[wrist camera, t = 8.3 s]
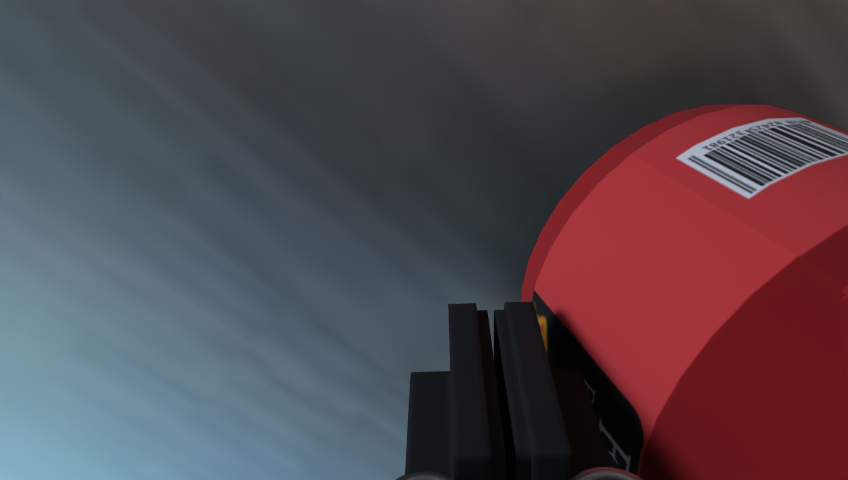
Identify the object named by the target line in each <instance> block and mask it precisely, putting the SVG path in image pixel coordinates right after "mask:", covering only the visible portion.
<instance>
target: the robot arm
mask: <svg viewBox="0 0 848 480" xmlns="http://www.w3.org/2000/svg"><path fill="white" fill-rule="evenodd" d="M448 309H449V340H450V371H439V372H411V377H410V394H409V413H408V431H407V449H406V467H405V475H403V476H401V477H399V478H398V479H396V480H643V479H642V478H640V477H639V476H637V475H635V474H632V473H630V472H628V471H626V470H621V469H617V468H612V466H611V463H610V459H609V456H608V453H607V450H606V447H605V444H604V441H603V438H602V434H601V431H600V428H599V425H598V422H597V419H596V416H595V412H594V409H593V406H592V403H591V400H590V397H589V394H588V391H587V387H586V384H585V381H584V378H583V375H582V372H581V370H580V369H579V368H578V367H572V368H550V365H549V361H548V357H547V353H546V349H545V345H544V341H543V337H542V333H541V329H540V325H539V321H538V317H537V313H536V310H535V306H534V302H533V301H530V302H505V304H504V310H494V358H493V350H492V343H491V335H490V327H489V319H488V312H487V310H480V311H477V308H476V303H469V304H448Z"/></svg>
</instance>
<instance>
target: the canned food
mask: <svg viewBox="0 0 848 480" xmlns="http://www.w3.org/2000/svg"><path fill="white" fill-rule="evenodd" d="M530 301H533V302H534V306H535V310H536V313H537V317H538V321H539V325H540V329H541V333H542V337H543V341H544V345H545V349H546V353H547V357H548V361H549V365H550V368H572V367H578V368H579V369H580V370H581V372H582V375H583V378H584V381H585V384H586V387H587V391H588V394H589V397H590V400H591V403H592V406H593V409H594V412H595V416H596V419H597V422H598V425H599V428H600V431H601V434H602V438H603V441H604V444H605V447H606V450H607V453H608V456H609V459H610V463H611V466H612V468H617V469H621V470H626V471H628V472H630V473H632V474H635V475H637V476H639V477H640V478H642V479H643V480H848V132H847V131H844V130H842V129H839V128H837V127H834V126H831V125H829V124H826V123H824V122H821V121H818V120H816V119H813V118H811V117H808V116H805V115H803V114H800V113H798V112H795V111H791V110H787V109H783V108H779V107H775V106H770V105H746V104H726V105H704V106H700V107H696V108H692V109H688V110H684V111H679V112H675V113H673V114H671V115H668V116H666V117H664V118H662V119H660V120H657V121H655V122H653V123H651V124H648V125H646V126H644V127H642V128H641V129H639V130H638V131H636V132H635V133H633V134H631V135H630V136H628V137H627V138H625V139H624V140H622V141H621V142H619V143H618V144H616V145H615V146H613V147H612V148H611V149H610V150H608V151H607V152H606V153H605V154H604V155H603V156H602V157H601V158H599V159H598V160H597V161H596V162H595V163H594V164H593V165H592V166H590V167H589V168H588V169H587V170H586V171H585V172H584V173H583V174H582V175H581V176H580V178H579V179H578V180H577V181H576V182H575V183H574V185H573V186H572V187H571V188H570V189H569V191H568V192H567V193H566V194H565V195H564V196H563V198H562V199H561V200H560V201H559V203H558V205H557V206H556V208H555V209H554V211H553V213H552V214H551V216H550V217H549V219H548V221H547V222H546V224H545V225H544V227H543V229H542V230H541V232H540V235H539V237H538V239H537V242H536V244H535V246H534V249H533V251H532V254H531V256H530V258H529V261H528V264H527V269H526V273H525V278H524V282H523V287H522V302H530Z"/></svg>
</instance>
